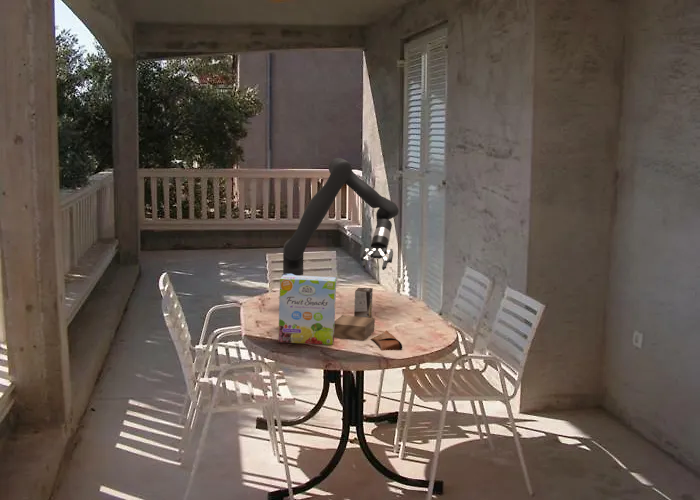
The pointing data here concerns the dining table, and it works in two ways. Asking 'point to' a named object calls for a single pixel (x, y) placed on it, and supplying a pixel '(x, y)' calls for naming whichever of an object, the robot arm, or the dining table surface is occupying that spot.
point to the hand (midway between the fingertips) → (373, 268)
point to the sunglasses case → (387, 341)
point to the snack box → (307, 309)
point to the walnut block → (353, 327)
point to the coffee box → (363, 302)
